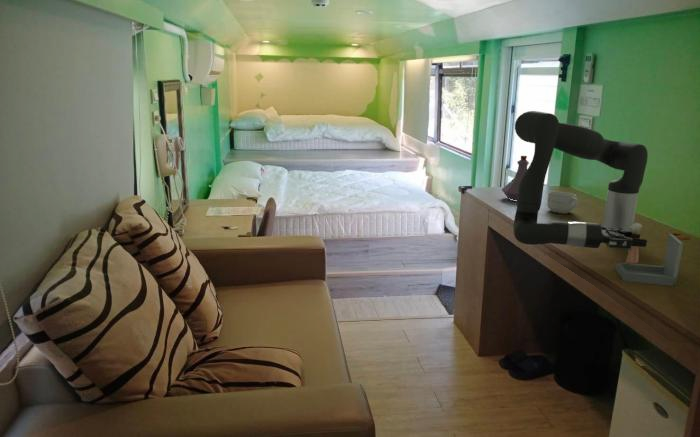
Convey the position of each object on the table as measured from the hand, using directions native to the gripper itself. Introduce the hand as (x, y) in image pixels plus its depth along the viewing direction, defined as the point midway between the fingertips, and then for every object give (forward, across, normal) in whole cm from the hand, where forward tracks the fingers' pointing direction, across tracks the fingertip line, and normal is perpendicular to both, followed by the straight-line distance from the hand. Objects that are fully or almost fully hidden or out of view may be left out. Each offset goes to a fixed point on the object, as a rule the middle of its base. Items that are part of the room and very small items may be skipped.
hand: (642, 239), depth 156 cm
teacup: (-14, +60, +8) cm, 62 cm away
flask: (-30, +79, +8) cm, 85 cm away
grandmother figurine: (-2, 0, +8) cm, 8 cm away
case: (-1, -12, +8) cm, 14 cm away
